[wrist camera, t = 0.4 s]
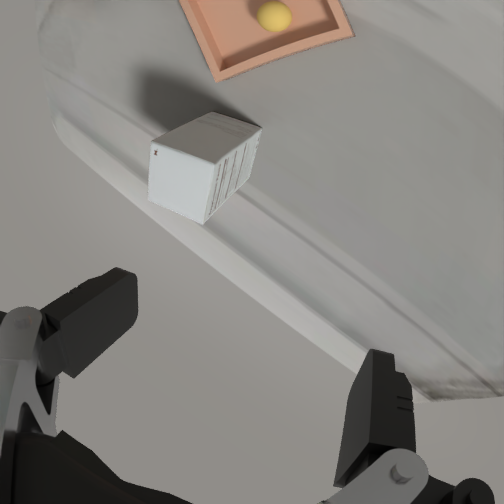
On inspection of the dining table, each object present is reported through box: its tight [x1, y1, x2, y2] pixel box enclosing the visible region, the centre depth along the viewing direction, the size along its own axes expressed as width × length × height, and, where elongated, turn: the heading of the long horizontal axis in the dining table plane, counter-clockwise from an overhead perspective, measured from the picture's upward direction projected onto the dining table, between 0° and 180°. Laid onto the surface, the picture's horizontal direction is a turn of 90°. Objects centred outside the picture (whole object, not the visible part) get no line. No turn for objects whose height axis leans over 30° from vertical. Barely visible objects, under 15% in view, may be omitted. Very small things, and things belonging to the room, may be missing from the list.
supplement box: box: [148, 111, 262, 225], centre depth 35 cm, size 7×7×13 cm
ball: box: [257, 1, 292, 32], centre depth 26 cm, size 4×4×4 cm
